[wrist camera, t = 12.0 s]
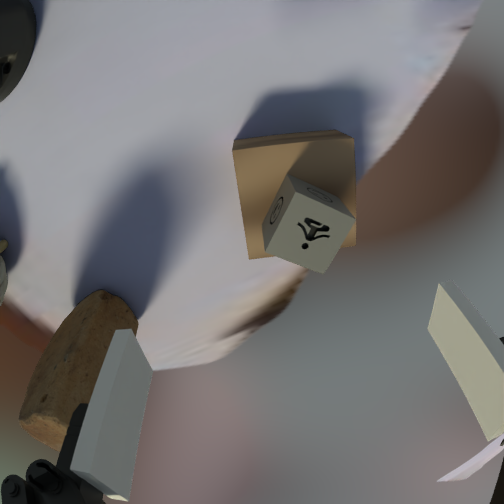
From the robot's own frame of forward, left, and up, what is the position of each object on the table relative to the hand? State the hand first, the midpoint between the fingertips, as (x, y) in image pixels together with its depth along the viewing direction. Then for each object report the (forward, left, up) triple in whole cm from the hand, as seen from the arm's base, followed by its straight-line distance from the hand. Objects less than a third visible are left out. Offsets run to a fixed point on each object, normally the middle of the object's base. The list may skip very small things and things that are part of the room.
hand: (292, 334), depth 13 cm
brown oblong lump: (+14, -23, -22) cm, 35 cm away
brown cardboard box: (0, +3, -22) cm, 22 cm away
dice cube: (+1, +3, -16) cm, 17 cm away
